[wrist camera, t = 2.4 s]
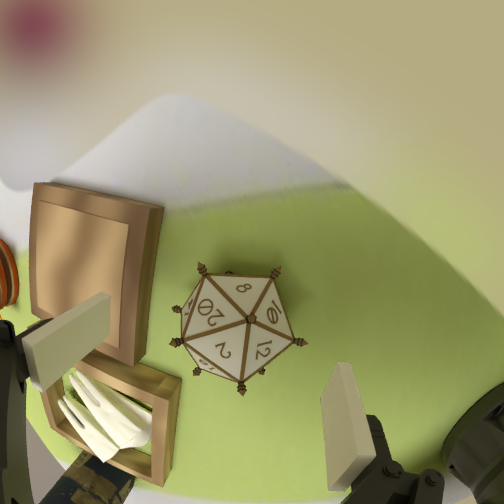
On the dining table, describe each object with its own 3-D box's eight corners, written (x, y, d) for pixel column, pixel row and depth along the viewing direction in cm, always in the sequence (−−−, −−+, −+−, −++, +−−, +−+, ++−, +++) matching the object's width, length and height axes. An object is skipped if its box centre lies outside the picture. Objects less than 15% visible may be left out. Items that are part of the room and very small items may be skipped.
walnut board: (164, 207, 22) (148, 209, 20) (145, 354, 25) (132, 367, 23) (50, 182, 23) (33, 182, 21) (45, 306, 26) (30, 313, 24)
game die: (230, 295, 27) (128, 314, 20) (281, 231, 22) (161, 234, 15) (280, 378, 23) (180, 427, 16) (352, 329, 18) (244, 391, 11)
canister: (139, 488, 32) (96, 562, 14) (90, 464, 33) (41, 528, 15) (136, 462, 30) (82, 550, 12) (81, 434, 31) (19, 506, 13)
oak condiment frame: (182, 379, 25) (168, 400, 22) (171, 469, 29) (162, 487, 25) (46, 316, 27) (27, 327, 23) (63, 415, 30) (50, 427, 27)
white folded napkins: (167, 423, 27) (99, 349, 26) (153, 447, 22) (76, 365, 22) (116, 445, 29) (60, 385, 29) (102, 464, 25) (42, 400, 25)
